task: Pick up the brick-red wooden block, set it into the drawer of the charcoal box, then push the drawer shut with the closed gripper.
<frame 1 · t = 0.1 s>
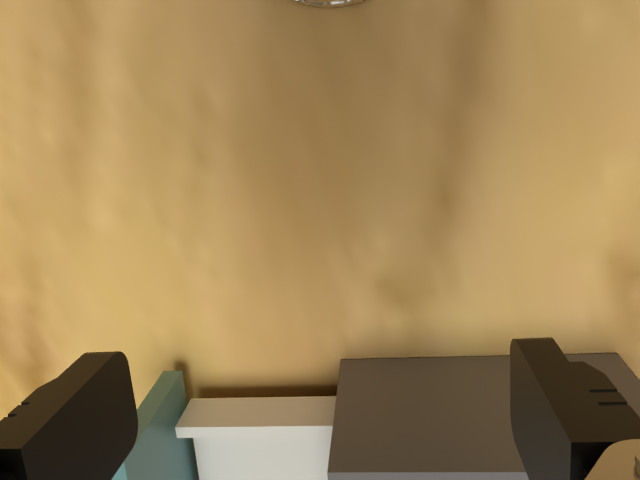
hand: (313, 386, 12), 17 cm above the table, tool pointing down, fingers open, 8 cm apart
housing: (475, 478, 32), on the table
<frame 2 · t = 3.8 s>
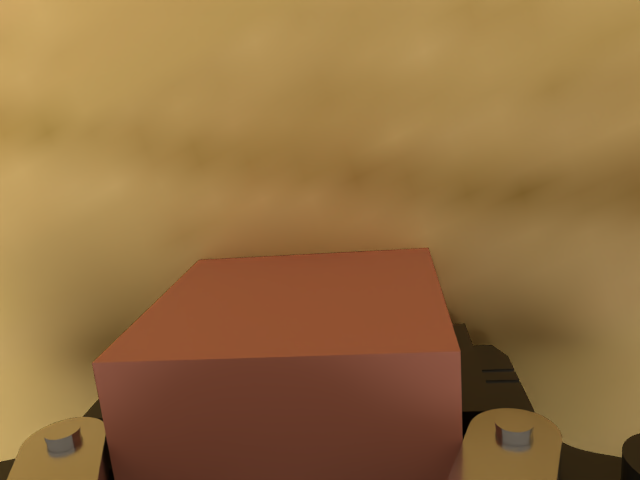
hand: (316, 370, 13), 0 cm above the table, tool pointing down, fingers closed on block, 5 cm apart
block: (320, 360, 13), on the table, touching gripper
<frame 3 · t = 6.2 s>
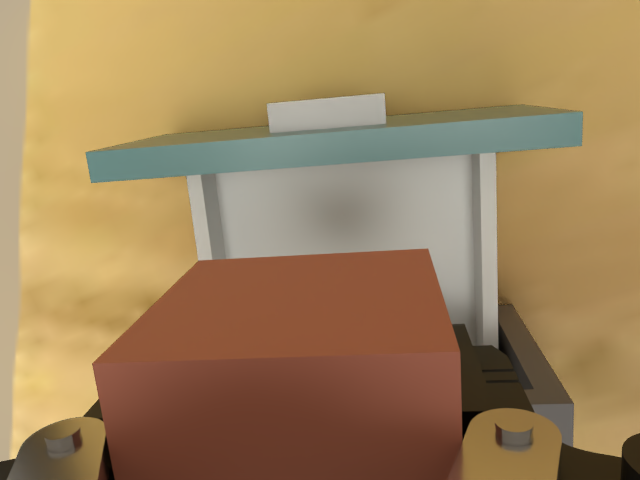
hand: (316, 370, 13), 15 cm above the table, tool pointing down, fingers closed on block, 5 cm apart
drawer: (344, 285, 23), point 5 cm above the table, slide at 8.0 cm
block: (320, 360, 13), point 15 cm above the table, touching gripper
housing: (364, 438, 30), on the table
when the fingers open (3 cm above the table, at t = 8.8 s): block stays where it is, resting on drawer.
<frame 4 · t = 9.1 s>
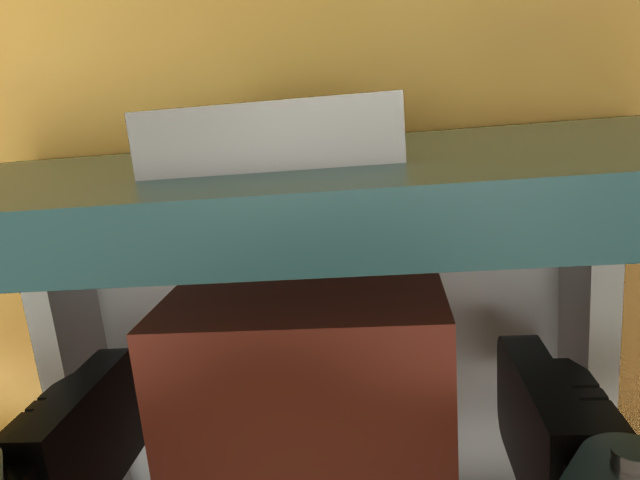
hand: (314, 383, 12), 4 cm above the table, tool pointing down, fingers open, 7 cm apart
drawer: (315, 472, 12), point 5 cm above the table, slide at 8.0 cm, touching block
block: (326, 342, 14), point 2 cm above the table, touching drawer
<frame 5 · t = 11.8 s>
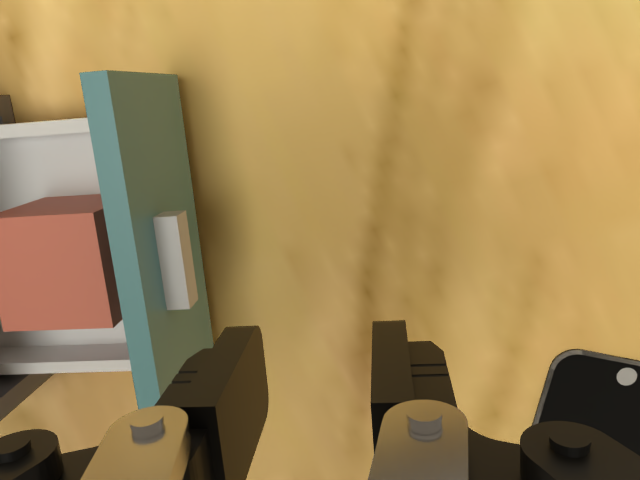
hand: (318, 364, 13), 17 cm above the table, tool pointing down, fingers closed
drawer: (41, 260, 26), point 5 cm above the table, slide at 8.0 cm, touching block
block: (101, 243, 29), point 2 cm above the table, touching drawer
smartphone: (585, 474, 33), on the table
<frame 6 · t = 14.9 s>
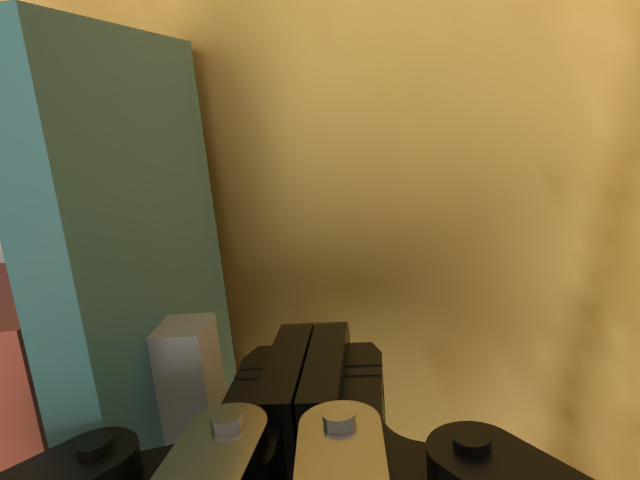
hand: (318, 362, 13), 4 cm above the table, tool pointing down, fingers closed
block: (58, 345, 17), point 2 cm above the table, touching drawer
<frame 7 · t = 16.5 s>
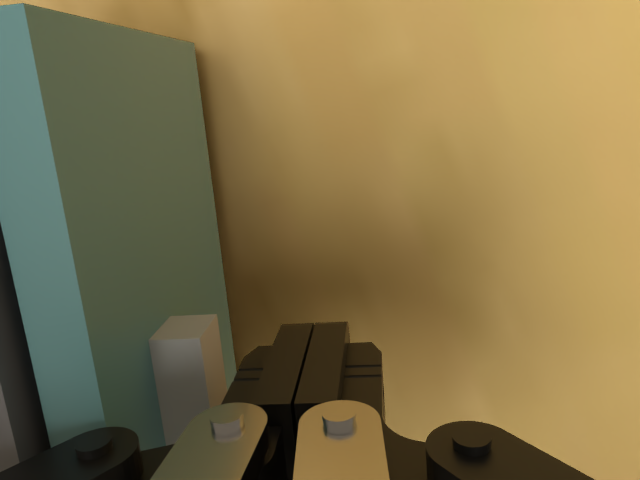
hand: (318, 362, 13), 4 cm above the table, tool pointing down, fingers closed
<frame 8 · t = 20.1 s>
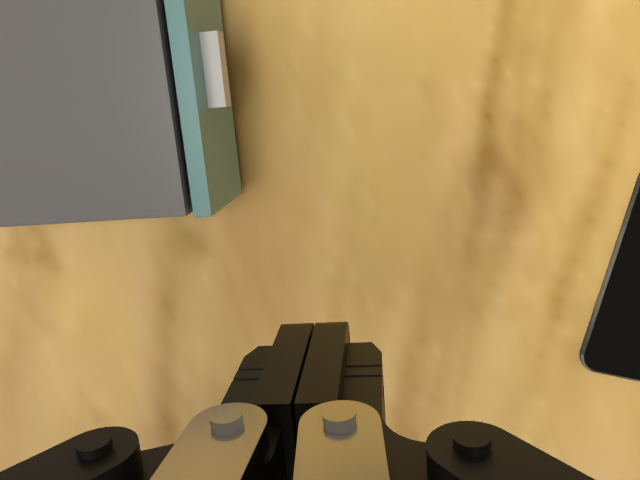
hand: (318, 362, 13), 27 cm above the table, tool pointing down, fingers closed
drawer: (108, 80, 34), point 5 cm above the table, slide at 0.0 cm, touching block
housing: (112, 84, 39), on the table
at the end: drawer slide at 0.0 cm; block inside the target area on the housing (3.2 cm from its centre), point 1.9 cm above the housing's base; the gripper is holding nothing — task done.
